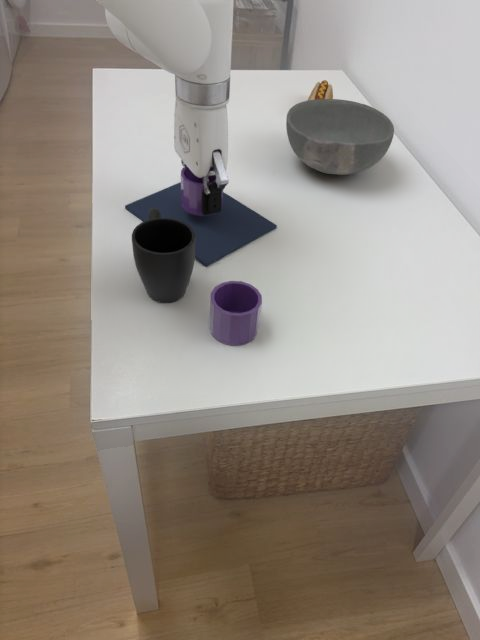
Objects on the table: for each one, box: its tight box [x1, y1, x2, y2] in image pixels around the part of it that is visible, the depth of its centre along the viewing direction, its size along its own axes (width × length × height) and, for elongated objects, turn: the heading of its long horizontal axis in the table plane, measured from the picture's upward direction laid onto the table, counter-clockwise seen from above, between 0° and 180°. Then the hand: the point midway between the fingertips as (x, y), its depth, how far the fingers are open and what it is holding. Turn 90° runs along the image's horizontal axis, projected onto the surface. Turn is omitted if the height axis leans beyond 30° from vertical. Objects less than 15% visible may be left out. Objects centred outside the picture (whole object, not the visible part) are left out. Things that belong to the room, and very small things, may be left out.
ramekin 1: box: [180, 166, 224, 216], centre depth 84 cm, size 7×7×6 cm
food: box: [307, 79, 334, 101], centre depth 120 cm, size 14×6×5 cm, turn 169°
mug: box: [131, 208, 196, 304], centre depth 73 cm, size 8×12×10 cm
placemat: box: [124, 181, 278, 267], centre depth 88 cm, size 20×16×1 cm
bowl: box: [285, 98, 395, 176], centre depth 101 cm, size 20×20×10 cm
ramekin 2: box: [209, 280, 263, 347], centre depth 70 cm, size 7×7×6 cm
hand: (201, 199), depth 86 cm, fingers closed on ramekin 1, 6 cm apart
